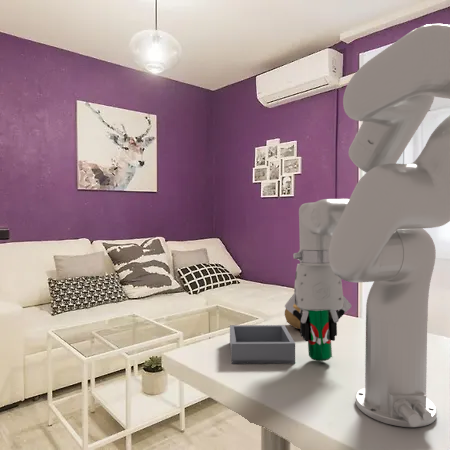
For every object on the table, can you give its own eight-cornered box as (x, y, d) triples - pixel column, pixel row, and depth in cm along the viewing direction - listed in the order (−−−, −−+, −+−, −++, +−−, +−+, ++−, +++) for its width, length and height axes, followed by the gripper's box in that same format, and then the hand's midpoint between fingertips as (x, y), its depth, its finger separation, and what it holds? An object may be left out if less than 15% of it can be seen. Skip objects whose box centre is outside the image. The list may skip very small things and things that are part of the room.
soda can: (330, 353, 89) (326, 301, 89) (334, 361, 84) (330, 305, 84) (307, 354, 90) (304, 302, 90) (310, 362, 85) (306, 306, 85)
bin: (295, 363, 86) (295, 343, 86) (231, 364, 86) (231, 343, 86) (284, 342, 100) (284, 325, 100) (229, 342, 100) (229, 325, 100)
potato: (288, 336, 105) (288, 306, 105) (281, 321, 119) (281, 295, 119) (324, 336, 105) (324, 306, 105) (313, 321, 119) (313, 295, 119)
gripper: (281, 259, 83) (283, 345, 83) (361, 258, 84) (362, 343, 84) (276, 257, 91) (277, 335, 91) (349, 256, 91) (350, 334, 91)
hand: (318, 338), depth 87 cm, fingers closed on soda can, 5 cm apart
